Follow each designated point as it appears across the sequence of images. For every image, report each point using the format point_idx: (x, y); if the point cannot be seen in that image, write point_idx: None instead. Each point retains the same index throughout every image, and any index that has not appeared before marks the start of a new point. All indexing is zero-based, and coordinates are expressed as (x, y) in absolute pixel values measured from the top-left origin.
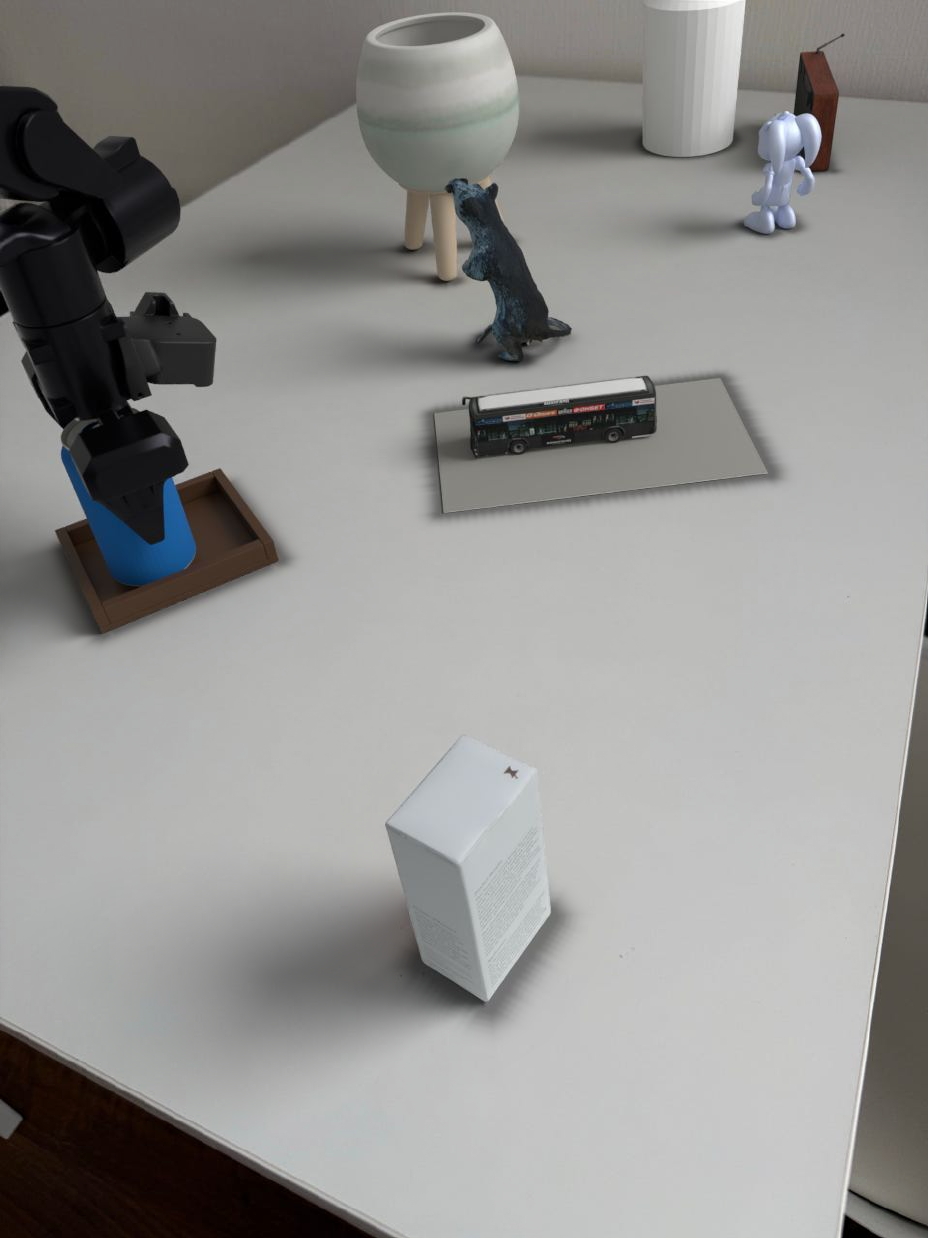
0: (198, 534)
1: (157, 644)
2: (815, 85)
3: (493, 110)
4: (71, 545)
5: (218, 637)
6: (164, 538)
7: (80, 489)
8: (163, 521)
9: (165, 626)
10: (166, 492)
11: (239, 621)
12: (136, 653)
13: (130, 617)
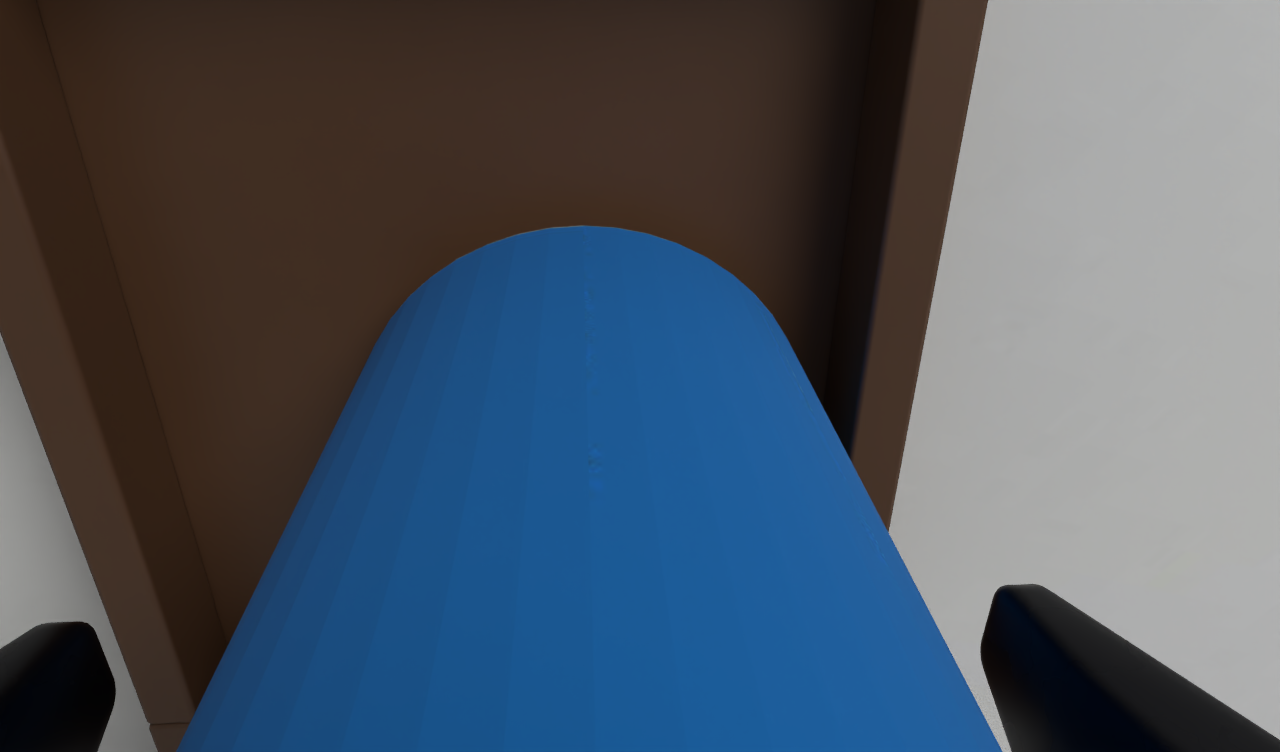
0: (450, 155)
1: (1026, 505)
2: None
3: None
4: None
5: (1194, 306)
6: (1046, 589)
7: None
8: (1205, 696)
9: (957, 459)
10: (927, 637)
11: (1189, 195)
12: (1009, 570)
13: None
